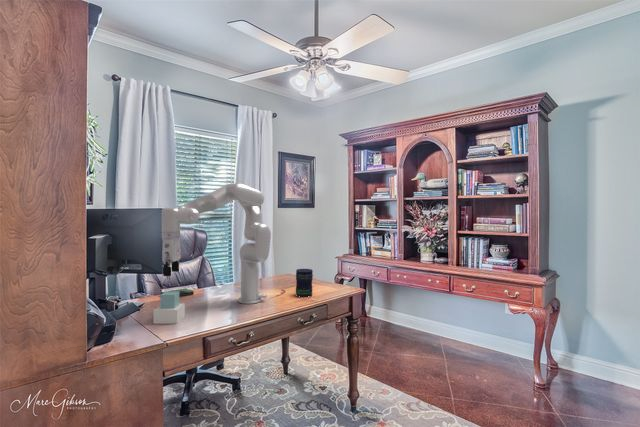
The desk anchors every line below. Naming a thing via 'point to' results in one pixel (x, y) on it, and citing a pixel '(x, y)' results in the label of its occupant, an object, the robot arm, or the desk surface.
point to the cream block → (169, 314)
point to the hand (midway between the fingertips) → (171, 273)
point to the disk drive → (183, 292)
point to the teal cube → (169, 299)
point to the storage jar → (304, 282)
